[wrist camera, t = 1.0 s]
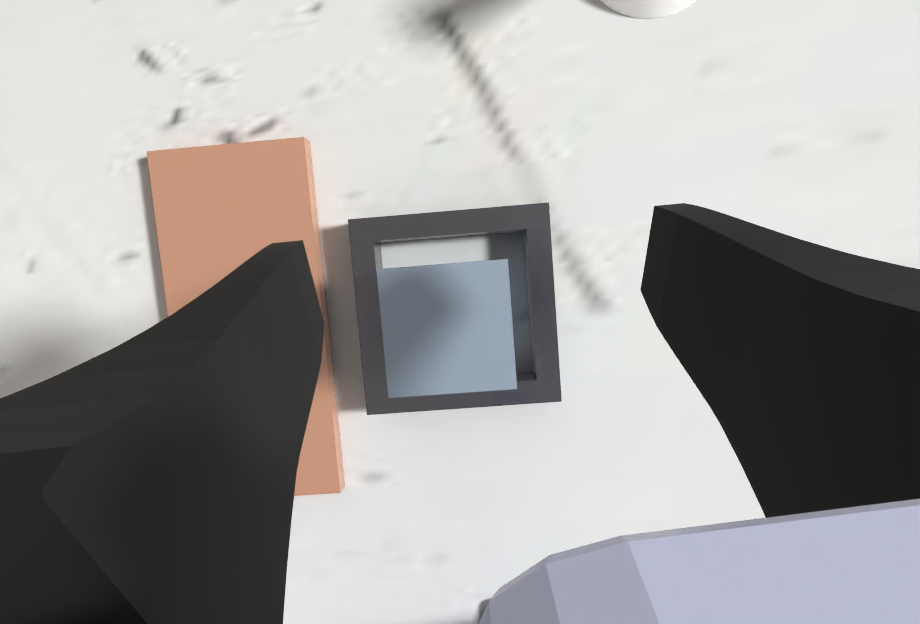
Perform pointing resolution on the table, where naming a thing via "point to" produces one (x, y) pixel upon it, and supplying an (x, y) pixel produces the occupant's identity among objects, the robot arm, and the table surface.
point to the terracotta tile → (247, 251)
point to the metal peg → (447, 328)
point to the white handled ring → (648, 7)
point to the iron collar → (452, 224)
